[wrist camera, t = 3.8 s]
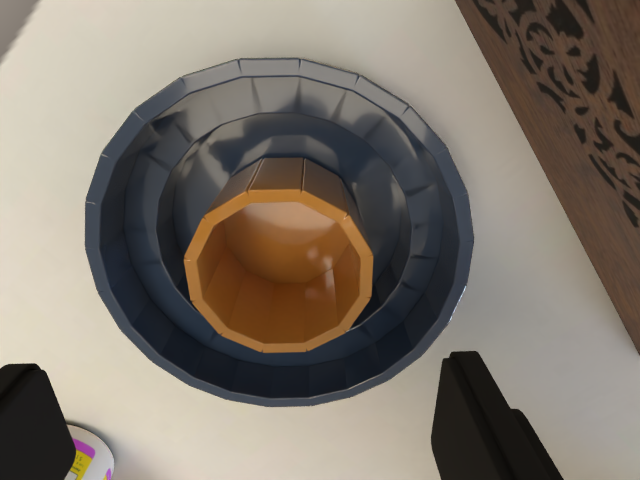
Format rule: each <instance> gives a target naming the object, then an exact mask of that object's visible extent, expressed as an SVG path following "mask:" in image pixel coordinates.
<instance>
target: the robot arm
mask: <svg viewBox="0 0 640 480" xmlns="http://www.w3.org/2000/svg"><path fill="white" fill-rule="evenodd" d="M431 444H432V450H433V454H434V457H435V461H436V464H437V467H438V470H439V473H440V477H441V480H564V479H563V478H562V476H561V474H560V473H559V471H558V469H557V468H556V466H555V464H554V463H553V461H552V459H551V458H550V456H549V454H548V453H547V451H546V449H545V448H544V446H543V444H542V443H541V441H540V439H539V438H538V436H537V434H536V433H535V431H534V429H533V428H532V426H531V424H530V423H529V421H528V419H527V418H526V417H525V415H524V414H523V413H522V412H521V411H520V410H518V409H510V407H509V405H508V404H507V402H506V400H505V398H504V397H503V395H502V393H501V391H500V389H499V388H498V386H497V384H496V382H495V381H494V379H493V377H492V375H491V374H490V372H489V370H488V368H487V367H486V365H485V363H484V361H483V360H482V358H481V356H480V355H479V353H478V352H476V351H459V352H451V354H450V357H449V358H444V359H443V361H442V367H441V373H440V380H439V387H438V394H437V400H436V407H435V414H434V420H433V427H432V434H431ZM75 457H76V447H75V444H74V442H73V439H72V436H71V434H70V431H69V429H68V426H67V424H66V421H65V419H64V416H63V414H62V411H61V409H60V406H59V403H58V401H57V398H56V396H55V393H54V391H53V388H52V386H51V383H50V381H49V378H48V375H47V373H46V372H45V371H44V370H41V369H40V367H39V366H38V365H37V364H32V363H31V364H8V365H5V366H3V367H2V368H1V369H0V480H64V479H65V478H66V476H67V474H68V472H69V471H70V469H71V467H72V465H73V463H74V461H75Z"/></svg>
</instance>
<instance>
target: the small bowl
mask: <svg viewBox="0 0 640 480" xmlns="http://www.w3.org/2000/svg"><path fill="white" fill-rule="evenodd" d="M184 265H185V271H186V277H187V283H188V288H189V294H190V300H191V301H192V304H193V305H194V306H195V307H196V308H197V309H198V311H199V312H200V313H201V314H202V315H203V316H204V317H205V319H206V320H207V321H208V322H209V323H210V324H211V326H212V327H213V328H214V329H215V330H216V331H217V332H218V334H221V333H222V334H221V336H223V337H225V338H228V339H230V340H232V341H235V342H237V343H240V344H242V345H244V346H247V347H249V348H252V349H254V350H256V351H259V352H262V350H263V353H282V352H306V349H307V351H310V350H312V349H314V348H316V347H318V346H320V345H322V344H324V343H326V342H328V341H330V340H332V339H334V338H337V337H339V336H341V335H343V334H345V331H348V330H349V328H350V327H351V326H352V324H353V323H354V321H355V320H356V319H357V317H358V316H359V314H360V313H361V312H362V310H363V309H364V307H365V306H366V305H367V303H368V302H369V300H370V297H371V296H372V277H373V253H372V249H371V246H370V243H369V240H368V237H367V233H366V230H365V227H364V224H363V220H362V217H361V214H360V211H359V208H358V206H357V205H356V203H355V201H354V199H353V198H352V196H351V194H350V193H349V191H348V189H347V188H346V186H345V184H344V182H343V181H342V179H341V178H339V176H337V175H336V174H334V173H332V172H330V171H328V170H326V169H325V168H323V167H321V166H319V165H317V164H315V163H314V162H312V161H310V160H308V159H306V158H305V159H304V158H302V157H301V158H264V159H260V160H259V161H257V162H256V163H254V164H252V165H251V166H249V167H248V168H246V169H244V170H243V171H241V172H239V173H238V174H236V175H235V176H233V177H231V178H230V179H229V180H228V181H227V183H226V184H225V186H224V187H223V189H222V190H221V191H220V193H219V194H218V196H217V197H216V199H215V200H214V202H213V203H212V204H211V206H210V207H209V209H208V210H207V212H206V213H205V215H204V216H203V217H202V219H201V221H200V223H199V226H198V228H197V230H196V232H195V234H194V236H193V238H192V240H191V243H190V245H189V247H188V249H187V251H186V253H185V255H184Z"/></svg>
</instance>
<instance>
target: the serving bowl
mask: <svg viewBox="0 0 640 480" xmlns="http://www.w3.org/2000/svg"><path fill="white" fill-rule="evenodd" d="M301 157H302V158H304V159H305V158H306V159H308V160H310V161H312V162H314V163H315V164H317V165H319V166H321V167H323V168H325V169H326V170H328V171H330V172H332V173H334V174H336V175H337V176H339V178H341V179H342V181H343V182H344V184H345V186H346V188H347V189H348V191H349V193H350V194H351V196H352V198H353V199H354V201H355V203H356V205H357V206H358V208H359V211H360V214H361V217H362V220H363V224H364V227H365V230H366V233H367V237H368V240H369V243H370V246H371V249H372V253H373V277H372V296H371V297H370V300H369V302H368V303H367V305H366V306H365V307H364V309H363V310H362V312H361V313H360V314H359V316H358V317H357V319H356V320H355V321H354V323H353V324H352V326H351V327H350V328H349V330H348V331H345V334H343V335H341V336H339V337H337V338H334V339H332V340H330V341H328V342H326V343H324V344H322V345H320V346H318V347H316V348H314V349H312V350H310V351H307V349H306V352H282V353H263V350H262V352H259V351H256V350H254V349H252V348H249V347H247V346H244V345H242V344H240V343H237V342H235V341H232V340H230V339H228V338H225V337H223V336H221V334H222V333H221V334H218V332H217V331H216V330H215V329H214V328H213V327H212V326H211V324H210V323H209V322H208V321H207V320H206V319H205V317H204V316H203V315H202V314H201V313H200V312H199V311H198V309H197V308H196V307H195V306H194V305H193V304H192V301H191V300H190V294H189V288H188V283H187V277H186V271H185V265H184V255H185V253H186V251H187V249H188V247H189V245H190V243H191V240H192V238H193V236H194V234H195V232H196V230H197V228H198V226H199V223H200V221H201V219H202V217H203V216H204V215H205V213H206V212H207V210H208V209H209V207H210V206H211V204H212V203H213V202H214V200H215V199H216V197H217V196H218V194H219V193H220V191H221V190H222V189H223V187H224V186H225V184H226V183H227V181H228V180H229V179H230V178H231V177H233V176H235V175H236V174H238V173H239V172H241V171H243V170H244V169H246V168H248V167H249V166H251V165H252V164H254V163H256V162H257V161H259V160H260V159H264V158H301ZM473 244H474V234H473V226H472V219H471V211H470V204H469V197H468V193H467V190H466V187H465V185H464V183H463V181H462V179H461V177H460V174H459V172H458V170H457V168H456V166H455V163H454V161H453V159H452V157H451V155H450V153H449V150H448V148H447V147H446V145H445V144H444V143H443V142H442V140H441V139H440V138H439V137H438V136H437V135H436V134H435V133H434V131H433V130H432V129H431V128H430V127H429V126H428V125H427V124H426V122H425V121H424V120H423V119H422V118H421V117H420V116H419V115H418V113H417V112H416V111H415V110H414V109H413V108H412V107H411V106H410V105H409V104H408V103H406V102H404V101H403V100H401V99H400V98H398V97H396V96H395V95H393V94H391V93H390V92H388V91H387V90H385V89H383V88H382V87H380V86H379V85H377V84H375V83H374V82H372V81H371V80H369V79H367V78H366V77H364V76H362V75H360V74H358V73H355V72H352V71H349V70H346V69H342V68H339V67H335V66H331V65H328V64H324V63H321V62H317V61H313V60H310V59H306V58H299V57H291V58H240V59H235V60H231V61H228V62H225V63H222V64H219V65H216V66H212V67H209V68H206V69H203V70H200V71H197V72H193V73H190V74H187V75H184V76H182V77H179V78H178V79H176V80H175V81H173V82H172V83H171V84H169V85H168V86H166V87H165V88H163V89H162V90H161V91H159V92H158V93H156V94H155V95H153V96H152V97H151V98H149V99H148V100H146V101H145V102H143V103H142V104H141V105H139V106H138V107H136V108H135V109H134V111H132V112H131V114H130V115H129V116H128V118H127V119H126V120H125V122H124V123H123V124H122V126H121V127H120V128H119V130H118V131H117V132H116V134H115V135H114V136H113V138H112V139H111V140H110V142H109V143H108V144H107V146H106V147H105V148H104V150H103V152H102V153H101V155H100V158H99V161H98V164H97V167H96V170H95V173H94V176H93V179H92V182H91V185H90V188H89V191H88V194H87V197H86V202H85V247H86V248H85V250H86V254H87V257H88V261H89V264H90V268H91V271H92V275H93V279H94V282H95V286H96V289H97V291H98V294H99V296H100V297H101V299H102V301H103V302H104V304H105V306H106V307H107V309H108V311H109V312H110V314H111V316H112V317H113V319H114V321H115V322H116V324H117V325H118V327H119V329H120V330H121V331H122V332H123V333H124V334H125V335H126V336H127V337H128V338H129V339H130V340H131V341H132V342H133V343H134V344H135V345H136V346H137V348H138V349H139V350H140V351H141V352H142V353H143V354H144V355H145V356H146V357H147V358H148V359H149V360H151V361H152V362H153V363H154V364H156V365H158V366H159V367H161V368H162V369H164V370H165V371H167V372H168V373H170V374H172V375H173V376H175V377H176V378H178V379H179V380H181V381H183V382H184V383H186V384H188V385H189V386H192V387H194V388H197V389H199V390H202V391H205V392H207V393H210V394H213V395H215V396H218V397H220V398H223V399H226V400H230V401H236V402H242V403H248V404H254V405H259V406H265V407H269V406H270V407H297V406H314V405H319V404H323V403H328V402H332V401H337V400H341V399H346V398H350V397H353V396H355V395H358V394H360V393H362V392H364V391H366V390H369V389H371V388H373V387H375V386H378V385H380V384H382V383H384V382H386V381H388V380H390V379H392V378H393V377H394V376H396V375H397V374H398V373H400V372H401V371H402V370H404V369H405V368H406V367H408V366H409V365H410V364H412V363H413V362H414V361H416V360H417V359H418V358H420V357H421V356H422V355H423V354H424V353H425V352H426V350H427V349H428V348H429V347H430V346H431V344H432V343H433V342H434V341H435V340H436V338H437V337H438V336H439V335H440V334H441V332H442V331H443V330H444V329H445V327H446V326H447V325H448V323H449V322H450V320H451V318H452V316H453V314H454V312H455V309H456V307H457V305H458V303H459V301H460V299H461V297H462V294H463V292H464V290H465V288H466V286H467V282H468V276H469V269H470V263H471V257H472V251H473Z"/></svg>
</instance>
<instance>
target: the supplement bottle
mask: <svg viewBox="0 0 640 480" xmlns="http://www.w3.org/2000/svg"><path fill="white" fill-rule="evenodd" d="M67 426H68V429H69V431H70V434H71V436H72V439H73V442H74V444H75V447H76V457H75V461H74V463H73V465H72V467H71V469H70V471H69V472H68V474H67V476H66V478H65V479H64V480H110V479H111V477H112V474H113V471H114V458H113V455H112V453H111V451H110V449H109V448H108V447H107V445H106V444H105V443H104V442H103V441H102V440H101V439H100V438H99V437H97V436H96V435H94V434H93V433H91V432H89V431H87V430H85V429H82V428H79V427H76V426H72V425H67Z"/></svg>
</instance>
